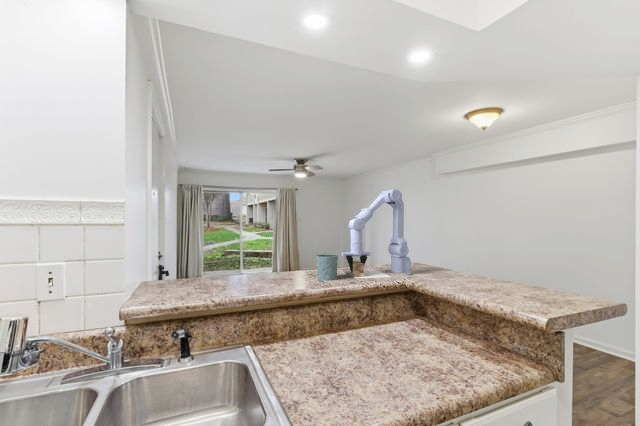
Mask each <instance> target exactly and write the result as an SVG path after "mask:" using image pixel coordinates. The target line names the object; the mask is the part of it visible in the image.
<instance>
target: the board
mask: <svg viewBox="0 0 640 426" xmlns="http://www.w3.org/2000/svg"><path fill="white" fill-rule="evenodd" d="M353 278H354V279H356V280H357V279H378V278H380V279H381V278H384V279H385V278H392V276H391V275H389V274H387V273H385V272H383V271H379V270H378V271H377V270H376V271H364V276H363V277H353Z"/></svg>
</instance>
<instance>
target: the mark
mask: <svg viewBox="0 0 640 426" xmlns="http://www.w3.org/2000/svg"><path fill="white" fill-rule="evenodd" d="M347 276H348V277H349V278H354V277H355V274H353V273H348V275H347Z"/></svg>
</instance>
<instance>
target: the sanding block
mask: <svg viewBox="0 0 640 426" xmlns="http://www.w3.org/2000/svg"><path fill="white" fill-rule="evenodd" d="M364 268H365V265H364V264H363V263H361V262H360V260H359V261H358V260H353V272H352V273H353V274H355V277H363V276H364V272H365V269H364ZM348 269H349V270H348V271H350V267H349V266H348ZM350 272H351V271H350Z"/></svg>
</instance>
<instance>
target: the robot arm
mask: <svg viewBox="0 0 640 426" xmlns="http://www.w3.org/2000/svg"><path fill="white" fill-rule="evenodd" d="M384 203H385V204H387V205H389V206H390V207H391V208H392V238H391V239H390V240H389V245H388V253H389V254H390V256H391V257H390V258H391V261H390V262H391V264H390V265H391V270H390V271H391V273H396V274H397V273H398V274H404V275H412V264H411V263H412V262H411V258H410V257H409V256H407V255H408V254H409V247H408V242H407V240H406V239H405V238H404V237H405V236H404V235H405V234H404V232H405V229H404V227H405V226H404V225H405V224H404V223H405V218H404V217H405V212H404V211H405V204H404V201H403V193H402V192H401V191H400V190H399V189H397V188H393V189H387V190H383V191H382V192H380V193H379V194H378V196H377V197H376V199H375V200H374V201H373V202H372V203H371V204H370V205H369V206H368V207H365V208H361V210H360V212H359V213H358V214H357V215H355V216H354V218H353V219H351V220H350V221H349V223H348V224H347V227H348V229H349V230H350V231H349V232H350V251H346V252H344V251H342V252H341V257H343V258H344V257H345V259H346V261H347V263H348V268H349V267H350V271H351V272H353V261H354V258H353V257H359V262H361V263H363V264H364V266H365V264H366V262H367V259H368V257H372V251H363V230H364V229H365V225H366V224H367V223H368V222H369V221H370V220H371V219H372V218H373V217H374V212H376V210H378V209H379V208H380V207H381V206H382V205H383V204H384Z"/></svg>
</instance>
